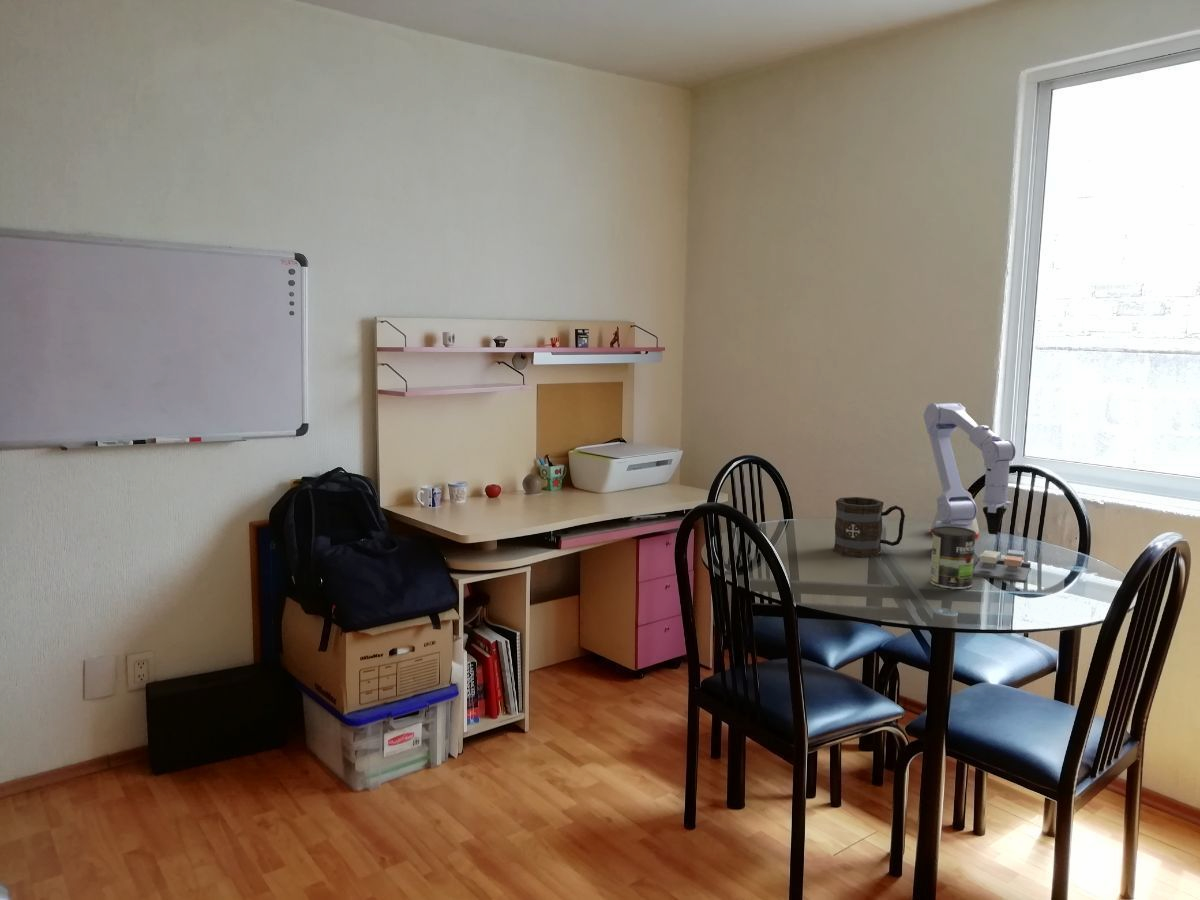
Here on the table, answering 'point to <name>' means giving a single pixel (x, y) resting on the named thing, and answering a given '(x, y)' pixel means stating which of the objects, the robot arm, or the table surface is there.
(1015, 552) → the grey square block
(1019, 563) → the terracotta key
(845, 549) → the mug
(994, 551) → the cream white block
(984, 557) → the ivory key
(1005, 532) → the table surface
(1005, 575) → the keypad board
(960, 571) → the coffee can
